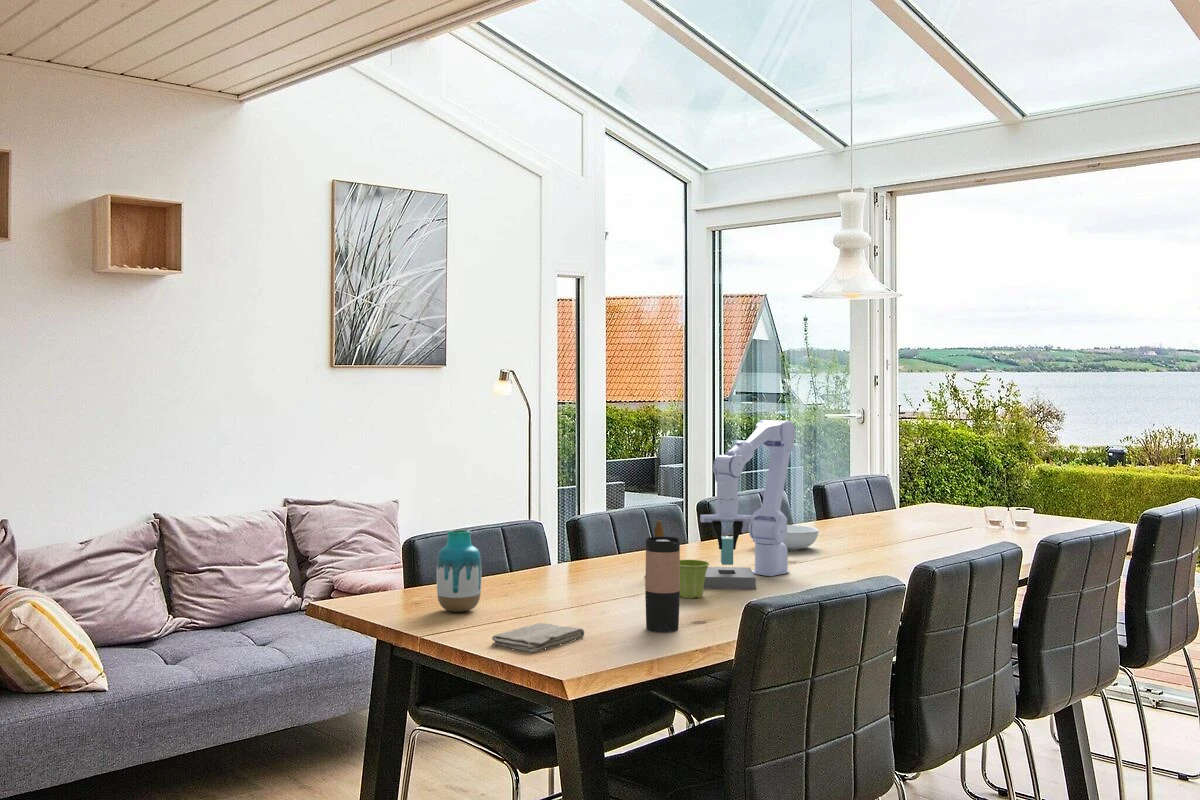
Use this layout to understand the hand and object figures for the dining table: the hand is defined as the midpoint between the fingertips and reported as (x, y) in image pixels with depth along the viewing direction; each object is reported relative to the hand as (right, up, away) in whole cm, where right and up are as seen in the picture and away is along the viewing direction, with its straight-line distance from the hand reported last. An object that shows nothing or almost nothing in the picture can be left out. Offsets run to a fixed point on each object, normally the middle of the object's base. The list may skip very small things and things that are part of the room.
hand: (727, 549), depth 298 cm
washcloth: (-48, -11, -68) cm, 84 cm away
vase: (-68, -10, -38) cm, 79 cm away
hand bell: (-18, -9, +8) cm, 22 cm away
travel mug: (-21, -10, -56) cm, 60 cm away
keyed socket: (0, -9, 0) cm, 9 cm away
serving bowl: (+27, -9, +63) cm, 69 cm away
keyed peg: (0, -4, +1) cm, 4 cm away
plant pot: (-11, -10, -18) cm, 24 cm away
